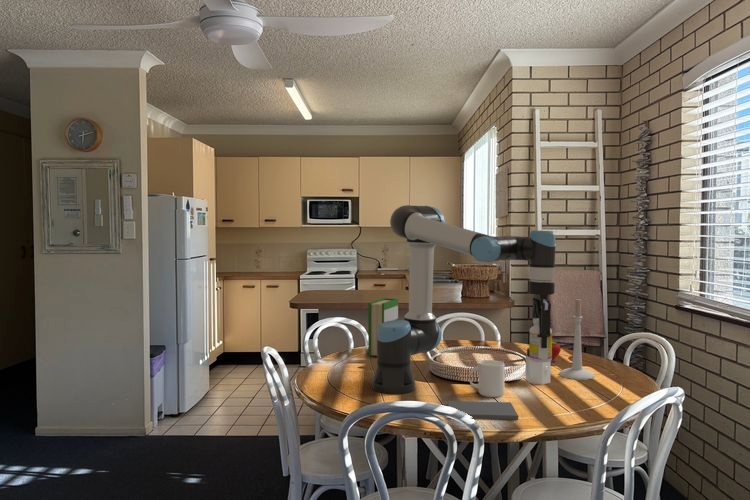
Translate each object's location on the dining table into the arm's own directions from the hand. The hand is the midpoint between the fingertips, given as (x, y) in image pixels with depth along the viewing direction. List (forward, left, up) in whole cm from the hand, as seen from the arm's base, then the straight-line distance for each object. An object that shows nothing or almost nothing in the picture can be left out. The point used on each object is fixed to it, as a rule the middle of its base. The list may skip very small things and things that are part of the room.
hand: (540, 355), depth 175 cm
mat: (-18, -1, -18) cm, 25 cm away
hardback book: (-52, +79, -18) cm, 96 cm away
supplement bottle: (0, 0, -2) cm, 2 cm away
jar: (+7, +36, -18) cm, 41 cm away
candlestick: (+24, +46, -18) cm, 55 cm away
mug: (-14, +19, -18) cm, 29 cm away
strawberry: (+20, +70, -18) cm, 75 cm away
